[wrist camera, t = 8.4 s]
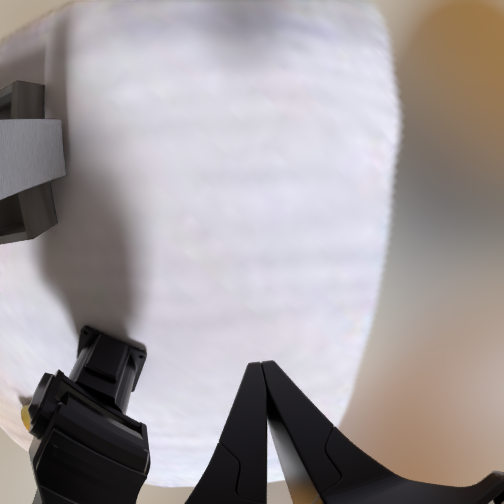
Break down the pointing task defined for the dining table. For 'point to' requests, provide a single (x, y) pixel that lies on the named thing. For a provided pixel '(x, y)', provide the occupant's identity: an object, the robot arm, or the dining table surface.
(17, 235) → the tunnel
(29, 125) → the slider
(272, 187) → the dining table surface
